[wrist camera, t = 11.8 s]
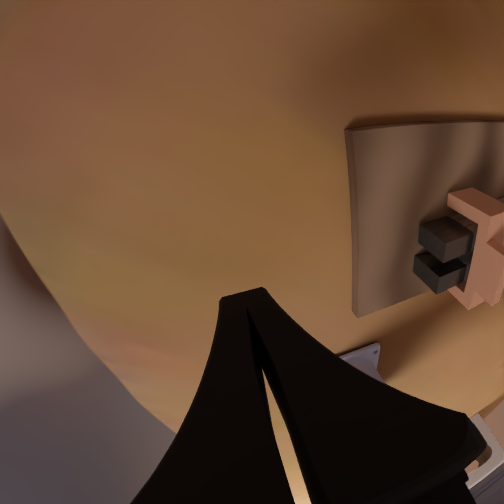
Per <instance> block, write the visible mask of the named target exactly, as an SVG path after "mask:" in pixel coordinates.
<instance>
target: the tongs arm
mask: <svg viewBox="0 0 504 504" xmlns="http://www.w3.org/2000/svg"><path fill="white" fill-rule="evenodd" d="M498 201H500V202H502V203H503V204H504V198H501V199H498ZM477 229H478V224H477V223H475V222H474V221H472V220H470V219H469V218H467V217H465V216H464V215H462V214H460V213H459V212H458V213H455V214H451V215H448V216H445V217H442V218H439V219H436V220H432V221H429V222H426V223H423V224H419V237H418V243H419V244H420V245H421V246H423V247H424V248H425V249H426V250H428V251H429V252H430V253H431V254H433V255H434V256H435V257H436V258H438V259H439V260H440V261H441V262H442V263H445V262H447V261H449V260H452V259H454V258H456V257H459V256H461V255H463V254H466V253H468V252H470V251H473V250H474V246H475V241H476V235H477Z"/></svg>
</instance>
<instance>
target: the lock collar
mask: <svg viewBox="0 0 504 504" xmlns="http://www.w3.org/2000/svg"><path fill="white" fill-rule="evenodd" d="M447 206H448V207H450V208H452V209H454V210H455V211H457V212H459V213H460V214H462V215H464V216H465V217H467V218H469V219H470V220H472V221H474V222H475V223H477V224H478V229H477V235H476V241H475V246H474V252H473V257H472V261H471V266H470V270H469V275H468V279H467V280H466V281H464V282H462V283H460V284H458V285H456V286H454V287H452V288H449V289H447V290H448V291H449V292H450V293H451V294H452V295H453V296H454V297H455V298H456V299H457V300H458V301H459V302H460V303H462V304H463V305H464V306H465V307H466V308H467V309H468V310H470V309H472V308H474V307H476V306H477V305H479V304H481V303H483V302H484V301H486V302H487V303H488V304H489V305H490V306H493V305H494V304H496V303H498V302H499V300H500V298H501V295H502V292H503V289H504V204H503V203H502V202H500V201H498V200H496V199H494V198H492V197H490V196H488V195H486V194H484V193H482V192H481V191H479V190H477V189H475V188H472V187H471V188H467V189H463V190H459V191H455V192H450V193H448V200H447Z"/></svg>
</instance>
